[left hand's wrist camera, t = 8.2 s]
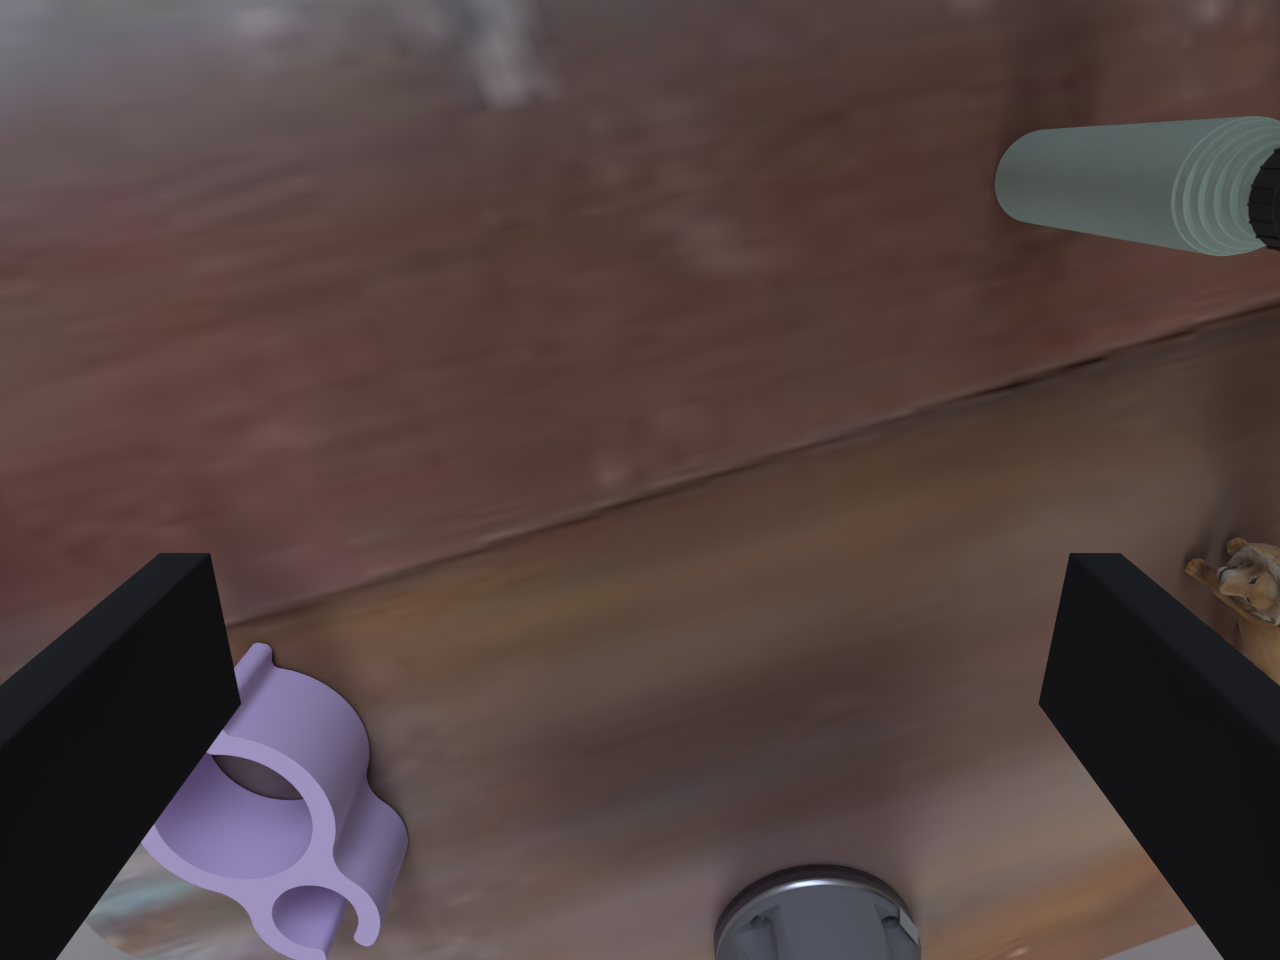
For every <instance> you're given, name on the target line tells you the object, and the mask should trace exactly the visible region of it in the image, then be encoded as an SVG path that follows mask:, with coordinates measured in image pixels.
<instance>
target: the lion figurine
mask: <svg viewBox="0 0 1280 960" xmlns="http://www.w3.org/2000/svg"><path fill="white" fill-rule="evenodd" d="M1227 552H1228V553H1229V555H1230V556H1231V557H1232V558H1231V559H1230V560H1229V561H1228V562H1227V564H1226V567H1221V568H1219V569H1218V570H1217V572H1216V571H1215V570H1214V569H1213V568H1212V567H1210V566H1208V565H1207V563H1206V562H1205V561H1204V560H1203V559H1200V558H1194V559H1191V560H1190V561H1189V562H1188V563H1187V565H1186V567H1185V568H1184V571H1185V572H1186V573H1188V574H1189V575H1191V576H1192V577H1194V578H1195V579H1197V580H1198V581H1200V582H1202V583H1204V584H1206V585H1207V586H1208V587H1209V588H1210V589H1211V590H1212V591H1213V592H1214V593H1215V595H1216V596H1217V597H1218V598H1220V599H1221V600H1222V601H1224V602H1225V603H1226V604H1227V605H1229V606H1230V607H1232V608H1233V609H1235V610H1236V611H1237V612H1238V616H1239V621H1238V622H1239V629H1240V634H1241V639H1242V642H1243V645H1244V648H1245V650H1246V652H1247V654H1248V656H1249V658H1250V661H1251V662H1252V663H1253V664H1254V665H1255V666H1257V667H1258V668H1259V669H1260V670H1261V671H1263V672H1264V673H1265V674H1266V675H1267V676H1269V677H1270V678H1271V679H1272V680H1273V681H1275V682H1276V683H1277V684H1278V685H1279V686H1280V547H1277V546H1274V545H1270V544H1266V543H1248V542H1247V541H1246V540H1244V539H1243V538H1238V537H1236V538H1233V539H1232V540H1230V541H1228V543H1227Z"/></svg>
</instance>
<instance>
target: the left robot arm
mask: <svg viewBox="0 0 1280 960" xmlns="http://www.w3.org/2000/svg"><path fill="white" fill-rule="evenodd" d="M240 705H241V700H240V695H239V690H238V685H237V680H236V676H235V671H234V666H233V661H232V656H231V652H230V647H229V642H228V637H227V632H226V628H225V623H224V618H223V613H222V608H221V604H220V599H219V594H218V589H217V584H216V580H215V575H214V570H213V565H212V560H211V556H210V553H160V554H158V555H157V556H156V557H155V558H154V559H152V560H151V561H150V562H149V563H147V564H146V565H145V566H144V567H143V568H141V569H140V570H139V571H138V572H137V573H135V574H134V575H133V576H132V577H131V578H129V579H128V580H127V581H126V582H125V583H123V584H122V585H121V586H120V587H119V588H117V589H116V590H115V591H114V592H113V593H111V594H110V595H109V596H108V597H107V598H105V599H104V600H103V601H102V602H100V603H99V604H98V605H97V606H96V607H94V608H93V609H92V610H91V611H90V612H88V613H87V614H86V615H85V616H84V617H82V618H81V619H80V620H79V621H78V622H76V623H75V624H74V625H73V626H72V627H70V628H69V629H68V630H67V631H66V632H64V633H63V634H62V635H61V636H60V637H58V638H57V639H56V640H55V641H54V642H52V643H51V644H50V645H49V646H47V647H46V648H45V649H44V650H43V651H41V652H40V653H39V654H38V655H37V656H35V657H34V658H33V659H32V660H31V661H29V662H28V663H27V664H26V665H25V666H23V667H22V668H21V669H20V670H19V671H17V672H16V673H15V674H14V675H13V676H11V677H10V678H9V679H8V680H7V681H5V682H4V683H3V684H2V685H1V686H0V960H56V959H57V957H58V956H59V954H60V953H61V952H62V950H63V949H64V948H65V946H66V945H67V943H68V942H69V941H70V939H71V938H72V937H73V935H74V934H75V932H76V931H77V930H78V928H79V927H80V926H81V924H82V923H83V921H84V920H85V919H86V917H87V916H88V915H89V913H90V912H91V910H92V909H93V908H94V906H95V905H96V904H97V902H98V901H99V899H100V898H101V897H102V895H103V894H104V893H105V891H106V890H107V888H108V887H109V886H110V884H111V883H112V882H113V880H114V879H115V877H116V876H117V875H118V873H119V872H120V870H121V869H122V868H123V866H124V865H125V864H126V862H127V861H128V859H129V858H130V857H131V855H132V854H133V853H134V851H135V850H136V848H137V847H138V846H139V844H140V843H141V842H142V840H143V839H144V837H145V836H146V835H147V833H148V832H149V831H150V829H151V828H152V826H153V825H154V824H155V822H156V821H157V820H158V818H159V817H160V815H161V814H162V813H163V811H164V810H165V808H166V807H167V806H168V804H169V803H170V802H171V800H172V799H173V797H174V796H175V795H176V793H177V792H178V791H179V789H180V788H181V786H182V785H183V784H184V782H185V781H186V780H187V778H188V777H189V775H190V774H191V773H192V771H193V770H194V769H195V767H196V766H197V764H198V763H199V762H200V760H201V759H202V758H203V756H204V755H205V753H206V752H207V751H208V749H209V748H210V746H211V745H212V744H213V742H214V741H215V740H216V738H217V737H218V735H219V734H220V733H221V731H222V730H223V729H224V727H225V726H226V724H227V723H228V722H229V720H230V719H231V718H232V716H233V715H234V713H235V712H236V711H237V709H238V708H239V707H240ZM1039 705H1040V707H1041V708H1042V709H1043V711H1044V712H1045V713H1046V715H1047V716H1048V718H1049V719H1050V720H1051V722H1052V723H1053V724H1054V726H1055V727H1056V729H1057V730H1058V731H1059V733H1060V734H1061V735H1062V737H1063V738H1064V740H1065V741H1066V742H1067V744H1068V745H1069V746H1070V748H1071V749H1072V751H1073V752H1074V753H1075V755H1076V756H1077V758H1078V759H1079V760H1080V762H1081V763H1082V764H1083V766H1084V767H1085V769H1086V770H1087V771H1088V773H1089V774H1090V775H1091V777H1092V778H1093V780H1094V781H1095V782H1096V784H1097V785H1098V786H1099V788H1100V789H1101V791H1102V792H1103V793H1104V795H1105V796H1106V797H1107V799H1108V800H1109V802H1110V803H1111V804H1112V806H1113V807H1114V808H1115V810H1116V811H1117V813H1118V814H1119V815H1120V817H1121V818H1122V820H1123V821H1124V822H1125V824H1126V825H1127V826H1128V828H1129V829H1130V831H1131V832H1132V833H1133V835H1134V836H1135V837H1136V839H1137V840H1138V842H1139V843H1140V844H1141V846H1142V847H1143V848H1144V850H1145V851H1146V853H1147V854H1148V855H1149V857H1150V858H1151V859H1152V861H1153V862H1154V864H1155V865H1156V866H1157V868H1158V869H1159V870H1160V872H1161V873H1162V875H1163V876H1164V877H1165V879H1166V880H1167V882H1168V883H1169V884H1170V886H1171V887H1172V888H1173V890H1174V891H1175V893H1176V894H1177V895H1178V897H1179V898H1180V899H1181V901H1182V902H1183V904H1184V905H1185V906H1186V908H1187V909H1188V910H1189V912H1190V913H1191V915H1192V916H1193V917H1194V919H1195V920H1196V921H1197V923H1198V924H1199V926H1200V927H1201V928H1202V930H1203V931H1204V932H1205V934H1206V935H1207V937H1208V938H1209V939H1210V941H1211V942H1212V944H1213V945H1214V946H1215V948H1216V949H1217V950H1218V952H1219V953H1220V955H1221V956H1222V957H1223V959H1224V960H1280V686H1279V685H1278V684H1277V683H1276V682H1275V681H1273V680H1272V679H1271V678H1270V677H1269V676H1267V675H1266V674H1265V673H1264V672H1263V671H1261V670H1260V669H1259V668H1258V667H1257V666H1255V665H1254V664H1253V663H1252V662H1251V661H1249V660H1248V659H1247V658H1246V657H1245V656H1243V655H1242V654H1241V653H1240V652H1239V651H1237V650H1236V649H1235V648H1234V647H1233V646H1231V645H1230V644H1229V643H1228V642H1226V641H1225V640H1224V639H1223V638H1222V637H1220V636H1219V635H1218V634H1217V633H1216V632H1214V631H1213V630H1212V629H1211V628H1210V627H1208V626H1207V625H1206V624H1205V623H1204V622H1202V621H1201V620H1200V619H1199V618H1198V617H1196V616H1195V615H1194V614H1193V613H1192V612H1190V611H1189V610H1188V609H1187V608H1186V607H1184V606H1183V605H1182V604H1181V603H1180V602H1178V601H1177V600H1176V599H1175V598H1173V597H1172V596H1171V595H1170V594H1169V593H1167V592H1166V591H1165V590H1164V589H1163V588H1161V587H1160V586H1159V585H1158V584H1157V583H1155V582H1154V581H1153V580H1152V579H1151V578H1149V577H1148V576H1147V575H1146V574H1145V573H1143V572H1142V571H1141V570H1140V569H1139V568H1137V567H1136V566H1135V565H1134V564H1133V563H1131V562H1130V561H1129V560H1128V559H1126V558H1125V557H1124V556H1123V555H1122V554H1120V553H1070V556H1069V560H1068V565H1067V570H1066V575H1065V580H1064V584H1063V589H1062V594H1061V599H1060V604H1059V608H1058V613H1057V618H1056V623H1055V628H1054V632H1053V637H1052V642H1051V647H1050V652H1049V656H1048V661H1047V666H1046V671H1045V676H1044V680H1043V685H1042V690H1041V695H1040V700H1039ZM714 950H715V960H921V946H920V940H919V937H918V929H917V927H916V926H915V925H914V922H913V919H912V917H911V914H910V911H909V909H908V907H907V905H906V904H905V902H904V901H903V899H902V898H901V897H900V895H899V894H898V893H897V892H896V891H895V890H894V889H893V888H892V887H890V886H889V885H888V884H886V883H885V882H883V881H882V880H880V879H878V878H877V877H875V876H873V875H871V874H868V873H866V872H863V871H860V870H857V869H853V868H849V867H844V866H837V865H806V866H799V867H793V868H789V869H785V870H781V871H779V872H776V873H773V874H770V875H768V876H766V877H763V878H762V879H760V880H758V881H756V882H754V883H753V884H751V885H750V886H748V887H747V888H745V889H744V890H743V891H741V892H740V893H739V894H738V895H737V896H736V897H735V898H734V899H733V900H732V901H731V902H730V903H729V905H728V906H727V907H726V909H725V910H724V912H723V913H722V915H721V917H720V919H719V921H718V924H717V927H716V931H715V937H714Z"/></svg>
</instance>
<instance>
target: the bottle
mask: <svg viewBox="0 0 1280 960" xmlns="http://www.w3.org/2000/svg"><path fill="white" fill-rule="evenodd" d="M1279 147H1280V121H1278V120H1275V119H1272V118H1268V117H1263V116H1248V117H1232V118H1216V119H1200V120H1184V121H1168V122H1152V123H1136V124H1120V125H1105V126H1089V127H1073V128H1057V129H1043V130H1037V131H1033V132H1030V133H1028V134H1026V135H1024V136H1022V137H1021V138H1019V139H1018V140H1016V141H1015V142H1014V143H1013V144H1012V145H1011V146H1010V147H1009V148H1008V149H1007V151H1006V152H1005V153H1004V155H1003V156H1002V158H1001V160H1000V162H999V165H998V167H997V171H996V175H995V193H996V197H997V200H998V202H999V204H1000V206H1001V208H1002V209H1003V210H1004V211H1005V212H1006V213H1007V214H1008V215H1009V216H1010V217H1012V218H1014V219H1016V220H1018V221H1021V222H1026V223H1031V224H1037V225H1043V226H1048V227H1054V228H1060V229H1065V230H1071V231H1077V232H1083V233H1088V234H1094V235H1100V236H1105V237H1111V238H1117V239H1122V240H1128V241H1134V242H1139V243H1145V244H1151V245H1156V246H1162V247H1168V248H1174V249H1179V250H1185V251H1191V252H1196V253H1202V254H1208V255H1214V256H1230V255H1236V254H1242V253H1247V252H1251V251H1253V250H1256V249H1259V248H1261V247H1263V246H1265V245H1266V244H1264V243H1263V242H1262V241H1261V240H1260V239H1257V238H1256V237H1255V236H1256V234H1255V232H1254V231H1253V228H1252V226H1251V224H1249V222H1248V221H1250V220H1249V216H1248V206H1247V203H1248V200H1249V195H1250V192H1251V188H1252V187H1251V184H1253V182H1254V179H1255V177H1256V175H1257V174H1258V172H1259V170H1260V169H1261V168H1260V166H1261V165H1263V164H1264V163H1265V161H1267V159H1268V158H1269V157H1270V156H1271V155H1272V154H1273V153H1274V150H1275V149H1276V148H1279Z"/></svg>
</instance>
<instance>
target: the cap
mask: <svg viewBox="0 0 1280 960" xmlns="http://www.w3.org/2000/svg"><path fill="white" fill-rule="evenodd" d="M1260 168H1261V169H1260V170H1259V172H1258V174H1257V175H1256V177H1255V179H1254V182H1253V184H1251V187H1252V188H1251V192H1250V195H1249V200H1248V203H1247V206H1248V216H1249V220H1250V221H1248V222H1249V224H1251V226H1252V228H1253V231H1254V232H1255V234H1256V236H1255V237H1256V238H1257V239H1260V240H1261V241H1262V242H1263V243H1264V244H1266V245H1267V249H1272V250H1277V251H1280V147H1279V148H1276V149H1275V150H1274V153H1273V154H1272V155H1271V156H1270V157H1269V158H1268V159H1267V161H1265V163H1264V164H1263V165H1261V166H1260Z"/></svg>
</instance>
